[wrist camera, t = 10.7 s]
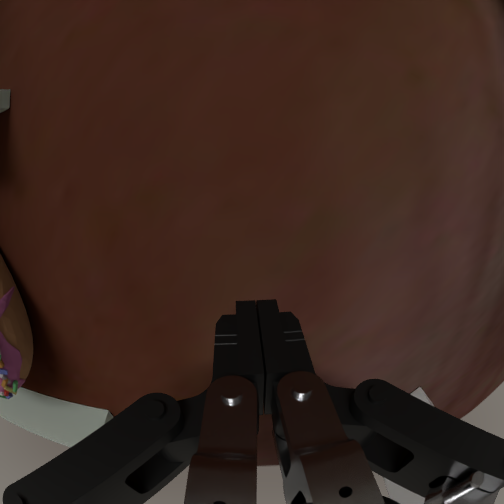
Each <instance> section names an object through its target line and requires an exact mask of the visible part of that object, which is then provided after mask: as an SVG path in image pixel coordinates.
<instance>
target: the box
mask: <svg viewBox="0 0 504 504" xmlns="http://www.w3.org/2000/svg"><path fill="white" fill-rule="evenodd" d="M9 108H10V90H7V89H0V113H2V112H3V111H5V110H7V109H9ZM12 394H13V393H12ZM0 417H2V418H3V419H5V420H7V421H9V422H11V423H13V424H15V425H17V426H19V427H21V428H23V429H26V430H28V431H30V432H32V433H34V434H37V435H39V436H41V437H44V438H46V439H49V440H51V441H54V442H57V443H59V444H62V445H65V446H68V447H72V446H74V445H75V444H77V443H78V442H80V441H81V440H83V439H84V438H85V437H87V436H88V435H90V434H91V433H93V432H94V431H96V430H97V429H98V428H100V427H101V426H103V425H104V424H105V423H107V422H108V421H110V420H111V419H112V418H113V416H112V414H111V413H110V412H109V410H104V409H99V408H94V407H89V406H85V405H80V404H76V403H72V402H68V401H64V400H60V399H57V398H53V397H50V396H46V395H43V394H40V393H37V392H34V391H31V390H28V389H25V388H22V387H20V388H19V389H18V390H17V394H16V395H15V394H13V397H11V398H10V399H5V398H1V397H0Z"/></svg>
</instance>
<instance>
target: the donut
mask: <svg viewBox="0 0 504 504" xmlns="http://www.w3.org/2000/svg"><path fill="white" fill-rule="evenodd" d="M32 358H33V337H32V331H31V326H30V322H29V319H28V316H27V312H26V309H25V306H24V304H23V301H22V298H21V296H20V293H19V291H18V289H17V287H16V284H15V282H14V280H13V277H12V275H11V273H10V271H9V270H8V268H7V266H6V264H5V262H4V260H3V258H2V256H1V254H0V397H1V398H5V399H10V398H11V397H13V394H15V395H16V394H17V390H18V389H19V388H20V387H21V386H22V384H23V383H24V382H25V379H26V378H27V376H28V374H29V371H30V369H31V365H32ZM12 393H13V394H12Z"/></svg>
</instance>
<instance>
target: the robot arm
mask: <svg viewBox="0 0 504 504" xmlns="http://www.w3.org/2000/svg"><path fill="white" fill-rule="evenodd" d="M263 405H264V414H272V421H273V430H272V433H273V438H274V443H275V447H276V452H277V456H278V460H279V465H280V469H281V473H282V478H283V489H284V496H285V500H286V504H400V503H398V502H396V501H394V500H392V499H390V498H387V497H384V496H382V495H381V493H380V490H379V487H378V485H377V483H376V480H375V478H374V475H373V473H372V471H374V472H375V473H378V474H379V475H381V476H382V477H384V478H386V479H388V480H390V481H392V482H394V483H395V484H397V485H399V486H401V487H403V488H405V489H407V490H409V491H411V492H413V493H415V494H418V495H420V496H422V497H424V498H425V501H424V504H494V502H495V499H496V497H497V494H498V492H499V490H500V489H501V488H502V487H504V439H502V438H500V437H498V436H495V435H493V434H491V433H488V432H486V431H484V430H482V429H480V428H477V427H475V426H473V425H471V424H469V423H467V422H464V421H462V420H460V419H458V418H456V417H454V416H452V415H450V414H448V413H446V412H444V411H442V410H440V409H438V408H436V407H434V406H432V405H430V404H428V403H426V402H424V401H422V400H420V399H418V398H416V397H414V396H412V395H410V394H409V393H407V392H405V391H403V390H401V389H399V388H397V387H395V386H394V385H392V384H390V383H388V382H386V381H383V380H380V379H369V380H366V381H363V382H362V383H360V384H359V385H358V386H357V388H356V389H350V388H340V387H334V386H331V385H328V384H326V383H324V382H323V380H322V379H321V378H320V377H318V376H317V375H316V373H315V371H314V368H313V365H312V362H311V358H310V355H309V352H308V348H307V345H306V342H305V340H304V335H303V332H302V329H301V326H300V323H299V320H298V319H297V318H296V317H295V316H294V315H293V314H292V313H291V312H279V309H278V305H277V301H276V299H274V300H257V301H256V303H255V300H254V301H236V315H222V316H221V318H220V319H219V320H218V322H217V323H216V331H215V346H214V362H213V378H212V382H211V384H210V386H209V387H208V388H207V389H206V390H205V391H204V392H203V393H201V394H200V395H197V396H195V397H192V398H188V399H183V400H179V401H176V400H175V399H174V398H173V397H171V396H169V395H167V394H163V393H150V394H147V395H145V396H143V397H141V398H140V399H138V400H137V401H136V402H134V403H133V404H132V405H130V406H129V407H128V408H126V409H125V410H123V411H122V412H121V413H119V414H118V415H117V416H115V417H114V418H112V419H111V420H110V421H108V422H107V423H105V424H104V425H103V426H101V427H100V428H98V429H97V430H96V431H94V432H93V433H91V434H90V435H88V436H87V437H85V438H84V439H83V440H81V441H80V442H78V443H77V444H75V445H74V446H72V447H71V448H69V449H68V450H66V451H65V452H63V453H62V454H60V455H59V456H57V457H55V458H54V459H52V460H51V461H49V462H48V463H46V464H45V465H43V466H41V467H40V468H38V469H36V470H35V471H33V472H32V473H30V474H28V475H27V476H25V477H24V478H21V479H20V480H18V481H16V482H15V483H13V484H11V485H9V486H8V487H7V488H6V489H5V491H4V494H3V504H143V503H145V502H146V501H147V500H148V499H150V498H151V497H152V496H154V495H155V494H156V493H157V492H158V491H160V490H161V489H162V488H163V487H164V486H166V485H167V484H168V483H169V482H170V481H172V480H173V479H174V478H175V477H176V476H177V475H178V474H180V472H182V471H183V470H184V469H185V468H186V467H187V466H188V465H189V464H190V466H189V472H188V479H187V486H186V493H185V500H184V504H256V489H257V485H256V484H257V434H258V431H259V415H263ZM371 470H372V471H371Z"/></svg>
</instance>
